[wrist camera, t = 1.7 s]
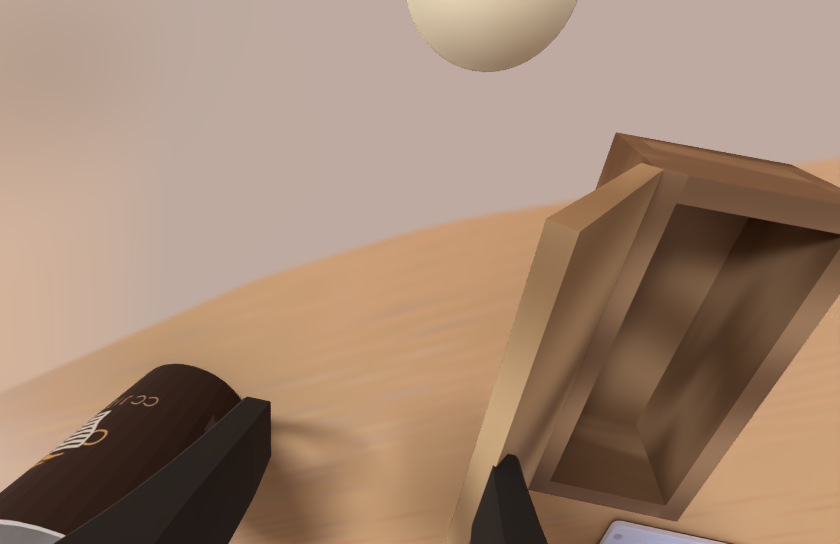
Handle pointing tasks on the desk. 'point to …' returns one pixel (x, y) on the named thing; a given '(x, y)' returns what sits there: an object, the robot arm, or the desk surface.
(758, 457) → the desk surface
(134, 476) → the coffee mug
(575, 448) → the walnut box
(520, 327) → the lid
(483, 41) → the cream domed disc
